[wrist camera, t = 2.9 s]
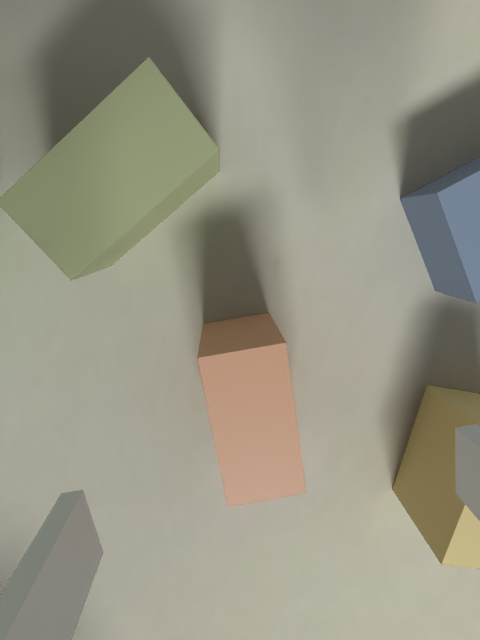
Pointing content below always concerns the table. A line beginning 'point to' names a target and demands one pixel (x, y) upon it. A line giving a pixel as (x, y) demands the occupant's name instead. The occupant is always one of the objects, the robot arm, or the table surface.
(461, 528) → the brick ochre
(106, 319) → the table surface
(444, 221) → the brick slate
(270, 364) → the brick terracotta
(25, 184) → the brick olive
